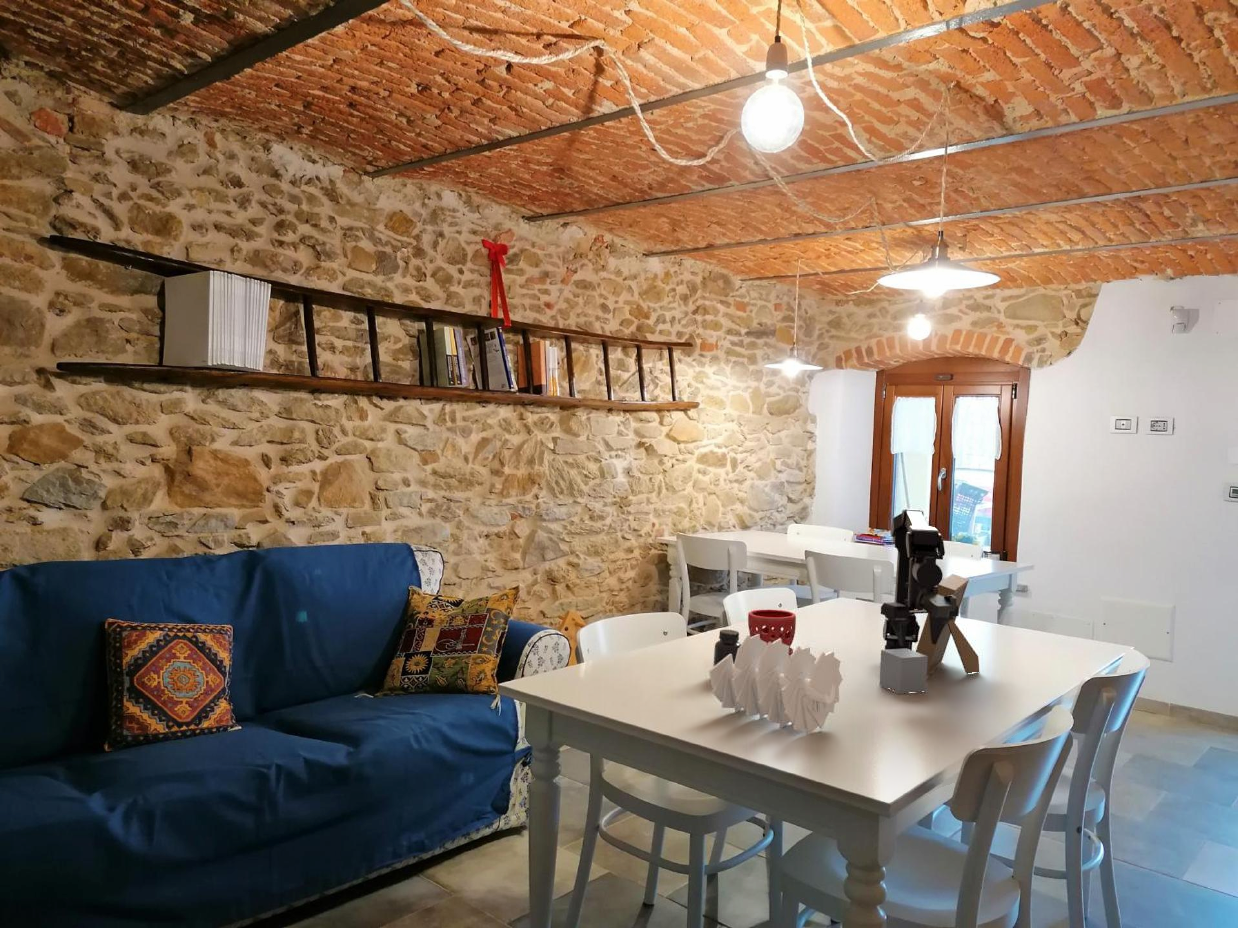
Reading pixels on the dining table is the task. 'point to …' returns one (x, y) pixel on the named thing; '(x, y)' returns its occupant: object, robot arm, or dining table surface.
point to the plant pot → (773, 620)
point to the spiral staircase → (778, 683)
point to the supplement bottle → (726, 645)
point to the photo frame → (948, 632)
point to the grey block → (903, 670)
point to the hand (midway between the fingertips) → (918, 645)
